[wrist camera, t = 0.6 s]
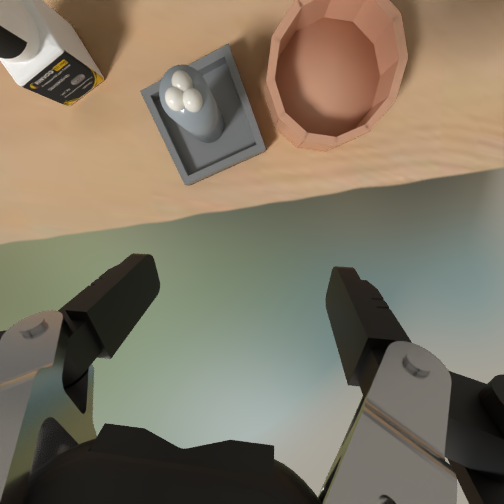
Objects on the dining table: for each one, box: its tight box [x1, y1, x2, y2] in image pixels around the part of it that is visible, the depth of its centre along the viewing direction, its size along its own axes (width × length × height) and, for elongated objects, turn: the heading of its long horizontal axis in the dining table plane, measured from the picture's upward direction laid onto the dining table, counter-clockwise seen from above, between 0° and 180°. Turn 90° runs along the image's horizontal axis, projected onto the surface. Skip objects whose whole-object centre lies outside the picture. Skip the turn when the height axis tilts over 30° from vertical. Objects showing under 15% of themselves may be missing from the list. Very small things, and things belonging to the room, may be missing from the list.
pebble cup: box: [159, 65, 224, 143], centre depth 25 cm, size 5×5×11 cm
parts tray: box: [140, 44, 266, 185], centre depth 30 cm, size 13×13×2 cm
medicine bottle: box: [0, 0, 104, 106], centre depth 24 cm, size 7×7×12 cm
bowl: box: [265, 0, 408, 152], centre depth 27 cm, size 16×16×5 cm
